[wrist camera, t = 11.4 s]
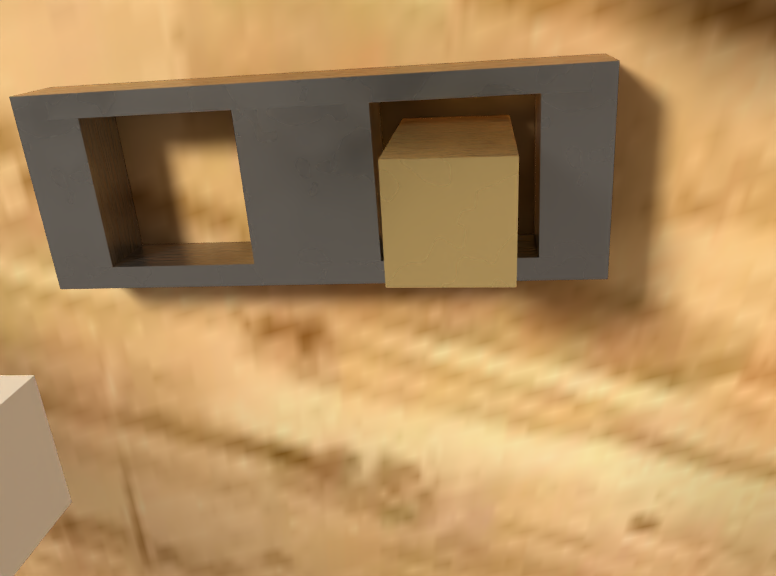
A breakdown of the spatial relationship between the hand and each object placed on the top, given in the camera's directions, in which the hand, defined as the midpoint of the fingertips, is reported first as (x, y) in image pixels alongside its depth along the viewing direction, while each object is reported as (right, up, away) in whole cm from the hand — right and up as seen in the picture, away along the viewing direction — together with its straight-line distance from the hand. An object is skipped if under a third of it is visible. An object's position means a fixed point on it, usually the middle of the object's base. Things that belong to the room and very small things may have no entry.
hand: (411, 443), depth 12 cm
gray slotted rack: (-3, +8, +20) cm, 21 cm away
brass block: (+3, +8, +19) cm, 21 cm away
